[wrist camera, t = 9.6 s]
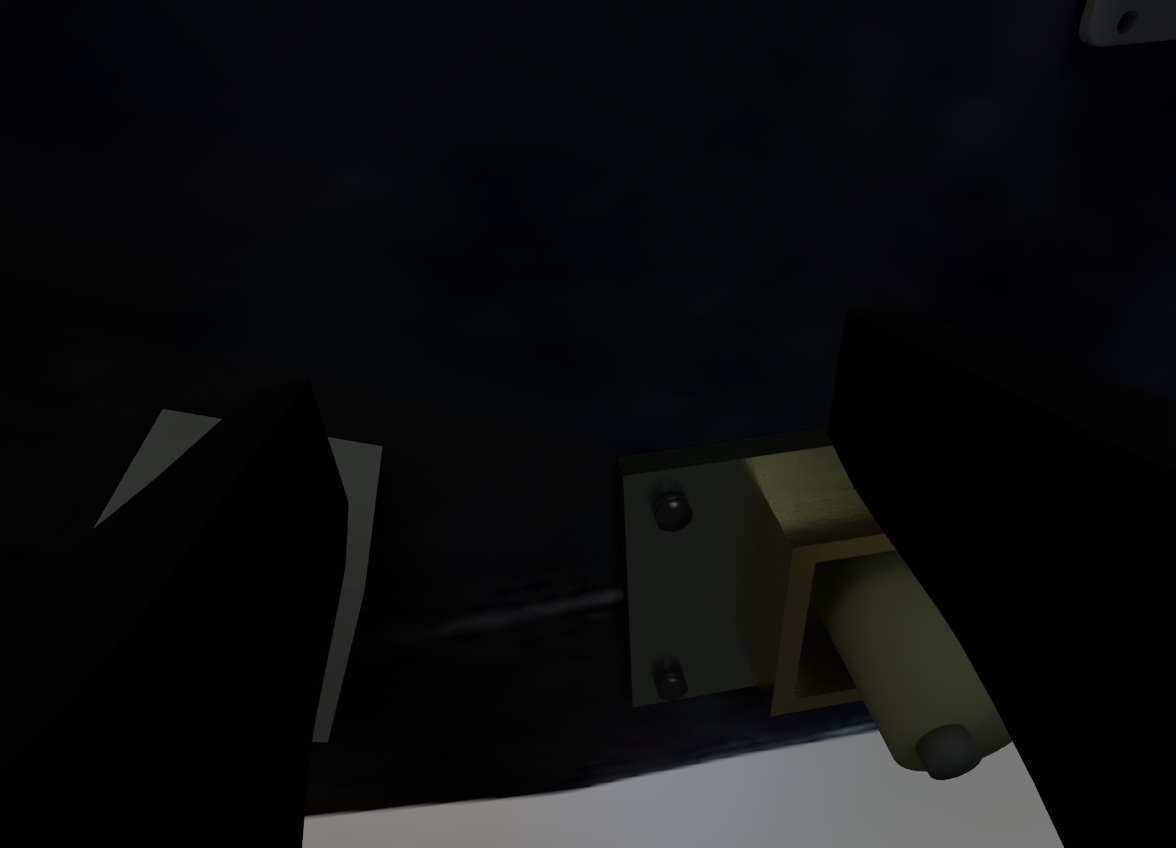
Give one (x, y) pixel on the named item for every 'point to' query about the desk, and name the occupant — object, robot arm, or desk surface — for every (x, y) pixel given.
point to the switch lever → (907, 665)
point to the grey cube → (360, 486)
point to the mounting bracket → (737, 568)
